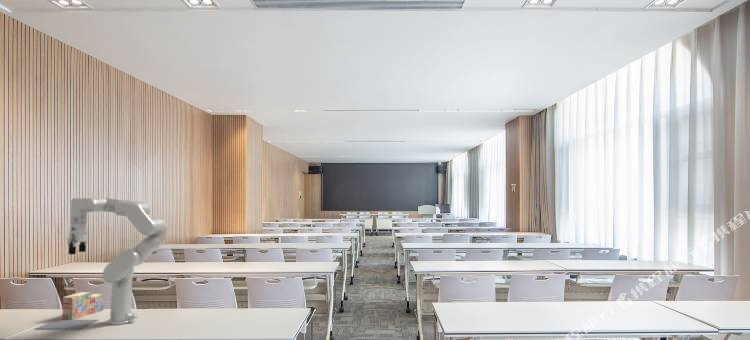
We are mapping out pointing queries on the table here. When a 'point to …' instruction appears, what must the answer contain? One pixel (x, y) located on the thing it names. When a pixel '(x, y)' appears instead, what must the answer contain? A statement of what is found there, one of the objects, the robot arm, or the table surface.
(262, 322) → the table surface
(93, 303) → the stack of blocks
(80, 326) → the mat
